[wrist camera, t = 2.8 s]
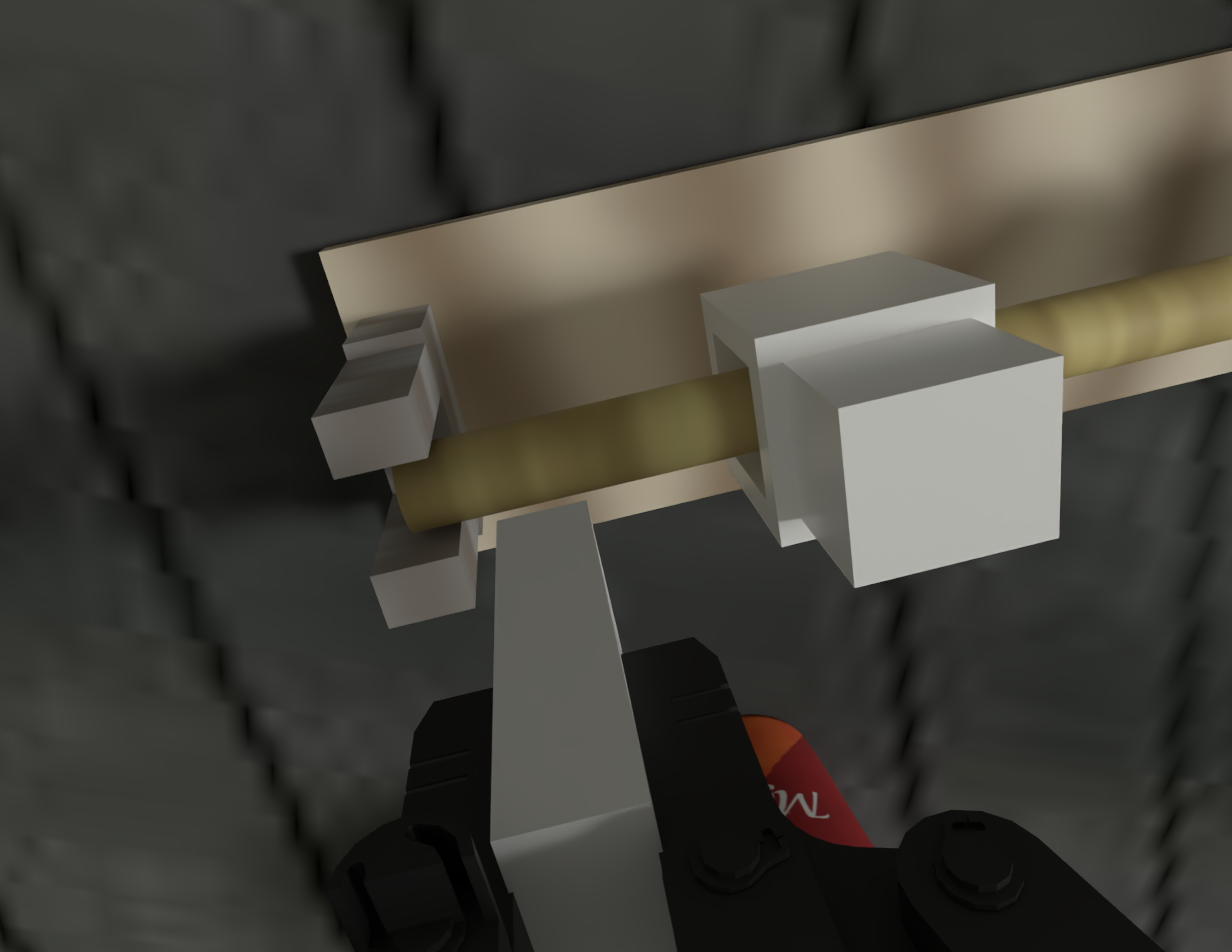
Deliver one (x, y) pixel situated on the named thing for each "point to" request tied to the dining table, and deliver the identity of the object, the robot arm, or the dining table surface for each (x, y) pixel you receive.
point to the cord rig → (747, 252)
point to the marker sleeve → (891, 414)
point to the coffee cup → (802, 783)
